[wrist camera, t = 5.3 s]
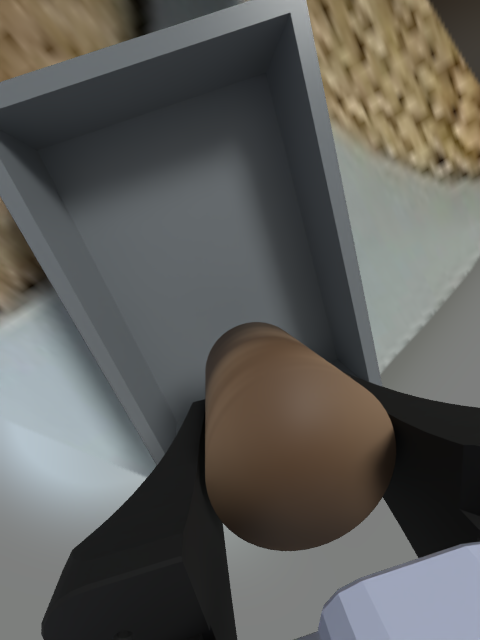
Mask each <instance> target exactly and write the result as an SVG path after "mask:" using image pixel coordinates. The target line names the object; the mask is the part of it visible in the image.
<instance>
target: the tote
mask: <svg viewBox="0 0 480 640" xmlns="http://www.w3.org/2000/svg"><path fill="white" fill-rule="evenodd" d="M0 196H1V198H2V200H3V202H4V203H5V205H6V207H7V208H8V210H9V212H10V214H11V215H12V217H13V219H14V221H15V222H16V224H17V226H18V227H19V229H20V231H21V233H22V234H23V236H24V238H25V239H26V241H27V243H28V245H29V246H30V248H31V250H32V251H33V253H34V255H35V257H36V258H37V260H38V262H39V263H40V265H41V267H42V269H43V270H44V272H45V274H46V276H47V277H48V279H49V281H50V282H51V284H52V286H53V288H54V289H55V291H56V293H57V294H58V296H59V298H60V300H61V301H62V303H63V305H64V306H65V308H66V310H67V312H68V313H69V315H70V317H71V318H72V320H73V322H74V324H75V325H76V327H77V329H78V331H79V332H80V334H81V336H82V337H83V339H84V341H85V343H86V344H87V346H88V348H89V349H90V351H91V353H92V355H93V356H94V358H95V360H96V361H97V363H98V365H99V367H100V368H101V370H102V372H103V373H104V375H105V377H106V379H107V380H108V382H109V384H110V386H111V387H112V389H113V391H114V392H115V394H116V396H117V398H118V399H119V401H120V403H121V404H122V406H123V408H124V410H125V411H126V413H127V415H128V416H129V418H130V420H131V422H132V423H133V425H134V427H135V428H136V430H137V432H138V434H139V435H140V437H141V439H142V441H143V442H144V444H145V446H146V447H147V449H148V451H149V453H150V454H151V456H152V458H153V459H154V461H155V463H156V465H158V463H159V462H160V461H161V459H162V458H163V456H164V455H165V453H166V452H167V450H168V448H169V447H170V445H171V443H172V442H173V440H174V438H175V437H176V435H177V433H178V431H179V429H180V427H181V426H182V424H183V422H184V420H185V418H186V416H187V413H188V411H189V409H190V407H191V405H192V403H193V402H196V401H200V400H204V399H205V368H206V362H207V358H208V355H209V353H210V350H211V349H212V347H213V345H214V344H215V343H216V341H217V340H218V339H219V338H220V337H221V336H222V335H223V334H224V333H226V332H227V331H228V330H230V329H232V328H234V327H236V326H238V325H241V324H245V323H250V322H263V323H268V324H272V325H275V326H277V327H279V328H281V329H282V330H284V331H285V332H287V333H288V334H290V335H291V336H292V337H294V338H295V339H297V340H298V341H300V342H301V343H302V344H304V345H305V346H307V347H308V348H309V349H311V350H312V351H314V352H315V353H316V354H318V355H319V356H321V357H322V358H324V359H325V360H326V361H328V362H329V363H331V364H332V365H333V366H335V367H336V368H338V369H339V370H340V371H343V372H345V373H348V374H350V375H353V376H355V377H358V378H360V379H363V380H365V381H368V382H371V383H373V384H376V385H379V386H382V382H381V377H380V372H379V367H378V362H377V357H376V352H375V347H374V342H373V337H372V332H371V327H370V322H369V317H368V311H367V306H366V301H365V296H364V291H363V286H362V281H361V276H360V271H359V266H358V261H357V256H356V251H355V246H354V241H353V235H352V230H351V225H350V220H349V215H348V210H347V205H346V200H345V195H344V190H343V185H342V180H341V175H340V170H339V165H338V160H337V154H336V149H335V144H334V139H333V134H332V129H331V124H330V119H329V114H328V109H327V104H326V99H325V94H324V89H323V84H322V78H321V73H320V68H319V63H318V58H317V53H316V48H315V43H314V38H313V33H312V28H311V23H310V18H309V13H308V8H307V2H306V0H250V1H247V2H244V3H241V4H238V5H235V6H232V7H229V8H226V9H223V10H220V11H216V12H213V13H210V14H207V15H204V16H201V17H198V18H195V19H192V20H189V21H186V22H183V23H180V24H177V25H174V26H171V27H168V28H164V29H161V30H158V31H155V32H152V33H149V34H146V35H143V36H140V37H137V38H134V39H131V40H128V41H125V42H122V43H119V44H116V45H112V46H109V47H106V48H103V49H100V50H97V51H94V52H91V53H88V54H85V55H82V56H79V57H76V58H73V59H70V60H67V61H64V62H61V63H57V64H54V65H51V66H48V67H45V68H42V69H39V70H36V71H33V72H30V73H27V74H24V75H21V76H18V77H15V78H12V79H9V80H5V81H2V82H0Z"/></svg>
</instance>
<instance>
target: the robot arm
mask: <svg viewBox="0 0 480 640" xmlns="http://www.w3.org/2000/svg"><path fill="white" fill-rule="evenodd" d="M342 372H343V371H342ZM343 373H345V372H343ZM345 374H346V375H347V376H349V377H350V378H352V379H353V380H355V381H356V382H357V383H359V384H360V385H362V386H363V387H364V388H366V389H367V390H368V391H369V392H371V393H372V394H373V395H374V396H375V397H376V398H377V399H378V400H379V402H380V403H381V404H382V406H383V407H384V409H385V410H386V412H387V414H388V416H389V418H390V420H391V423H392V426H393V429H394V433H395V440H396V459H395V466H394V470H393V474H392V477H391V480H390V483H389V485H388V488H387V489H386V491H385V493H384V495H383V498H384V500H385V501H386V503H387V505H388V506H389V508H390V510H391V511H392V513H393V515H394V516H395V518H396V520H397V521H398V523H399V525H400V526H401V528H402V530H403V532H404V533H405V535H406V537H407V539H408V540H409V542H410V543H411V545H412V547H413V549H414V551H415V553H416V554H417V556H418V559H415V560H412V561H409V562H406V563H403V564H400V565H397V566H394V567H391V568H388V569H385V570H382V571H379V572H376V573H373V574H370V575H367V576H364V577H361V578H359V579H357V580H355V581H353V582H351V583H349V584H347V585H345V586H344V587H342V588H340V589H338V590H337V591H336V592H335V594H334V595H333V596H332V597H331V598H330V599H329V600H328V601H327V602H326V603H325V605H324V607H323V610H322V614H321V618H320V623H319V627H318V631H317V632H314V633H312V634H309V635H306V636H303V637H300V638H297V639H294V640H480V408H476V407H468V406H461V405H455V404H449V403H443V402H438V401H433V400H428V399H424V398H419V397H415V396H412V395H408V394H404V393H400V392H397V391H394V390H391V389H388V388H385V387H382V386H379V385H376V384H373V383H371V382H368V381H365V380H363V379H360V378H358V377H355V376H353V375H350V374H348V373H345ZM41 634H42V636H43V639H44V640H237V635H236V627H235V620H234V612H233V604H232V598H231V589H230V581H229V573H228V565H227V557H226V549H225V540H224V532H223V523H222V521H221V520H220V518H219V517H218V516H217V514H216V513H215V511H214V509H213V507H212V505H211V502H210V499H209V496H208V493H207V488H206V482H205V399H204V400H200V401H196V402H193V403H192V405H191V407H190V409H189V411H188V413H187V416H186V418H185V420H184V422H183V424H182V426H181V427H180V429H179V431H178V433H177V435H176V437H175V438H174V440H173V442H172V443H171V445H170V447H169V448H168V450H167V452H166V453H165V455H164V456H163V458H162V459H161V461H160V462H159V463H158V465H157V466H156V467H155V469H154V470H153V471H152V473H151V474H150V475H149V476H148V477H147V479H146V480H145V481H144V482H143V483H142V484H141V486H140V487H139V488H138V489H137V490H136V491H135V492H134V494H133V495H132V496H131V497H130V498H129V499H128V500H127V501H126V502H125V503H124V504H123V505H122V506H121V507H120V508H119V509H118V510H117V511H116V512H115V513H114V514H113V515H112V516H111V517H110V518H109V519H108V520H106V521H105V522H104V523H103V524H102V525H101V526H100V527H99V528H98V529H96V530H95V531H94V532H93V533H92V534H91V535H89V536H88V537H87V538H86V539H85V540H84V541H82V542H81V543H80V544H79V545H78V546H76V547H75V548H74V549H73V550H72V552H71V554H70V556H69V558H68V561H67V563H66V565H65V567H64V569H63V571H62V574H61V576H60V579H59V581H58V584H57V586H56V589H55V591H54V594H53V596H52V599H51V601H50V603H49V606H48V608H47V611H46V613H45V616H44V618H43V621H42V632H41Z"/></svg>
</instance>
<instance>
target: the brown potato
mask: <svg viewBox="0 0 480 640" xmlns="http://www.w3.org/2000/svg"><path fill="white" fill-rule="evenodd" d="M395 459H396V440H395V433H394V429H393V426H392V423H391V420H390V418H389V416H388V414H387V412H386V410H385V409H384V407H383V406H382V404H381V403H380V402H379V400H378V399H377V398H376V397H375V396H374V395H373V394H372V393H371V392H369V391H368V390H367V389H366V388H364V387H363V386H362V385H360V384H359V383H357V382H356V381H355V380H353V379H352V378H350V377H349V376H347V375H346V374H345V373H343V372H342V371H340V370H339V369H338V368H336V367H335V366H333V365H332V364H331V363H329V362H328V361H326V360H325V359H324V358H322V357H321V356H319V355H318V354H316V353H315V352H314V351H312V350H311V349H309V348H308V347H307V346H305V345H304V344H302V343H301V342H300V341H298V340H297V339H295V338H294V337H292V336H291V335H290V334H288V333H287V332H285V331H284V330H282V329H281V328H279V327H277V326H275V325H272V324H268V323H263V322H250V323H245V324H241V325H238V326H236V327H234V328H232V329H230V330H228V331H227V332H226V333H224V334H223V335H222V336H221V337H220V338H219V339H218V340H217V341H216V343H215V344H214V345H213V347H212V349H211V350H210V353H209V355H208V358H207V362H206V368H205V482H206V488H207V493H208V496H209V499H210V502H211V505H212V507H213V509H214V511H215V513H216V514H217V516H218V517H219V518H220V520H221V521H222V523H223V524H224V525H225V526H226V527H227V528H228V529H229V530H231V531H232V532H233V533H234V534H236V535H237V536H238V537H240V538H241V539H243V540H245V541H247V542H249V543H251V544H254V545H256V546H259V547H262V548H267V549H270V550H279V551H296V550H305V549H310V548H314V547H318V546H321V545H324V544H327V543H329V542H331V541H333V540H336V539H338V538H340V537H341V536H343V535H345V534H346V533H348V532H350V531H351V530H352V529H354V528H355V527H356V526H358V525H359V524H360V523H361V522H362V521H363V520H364V519H365V518H366V517H367V516H368V515H369V514H370V513H371V512H372V511H373V510H374V508H375V507H376V506H377V504H378V503H379V501H380V500H381V499H382V497H383V495H384V493H385V491H386V489H387V488H388V485H389V483H390V480H391V477H392V474H393V470H394V466H395Z"/></svg>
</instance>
